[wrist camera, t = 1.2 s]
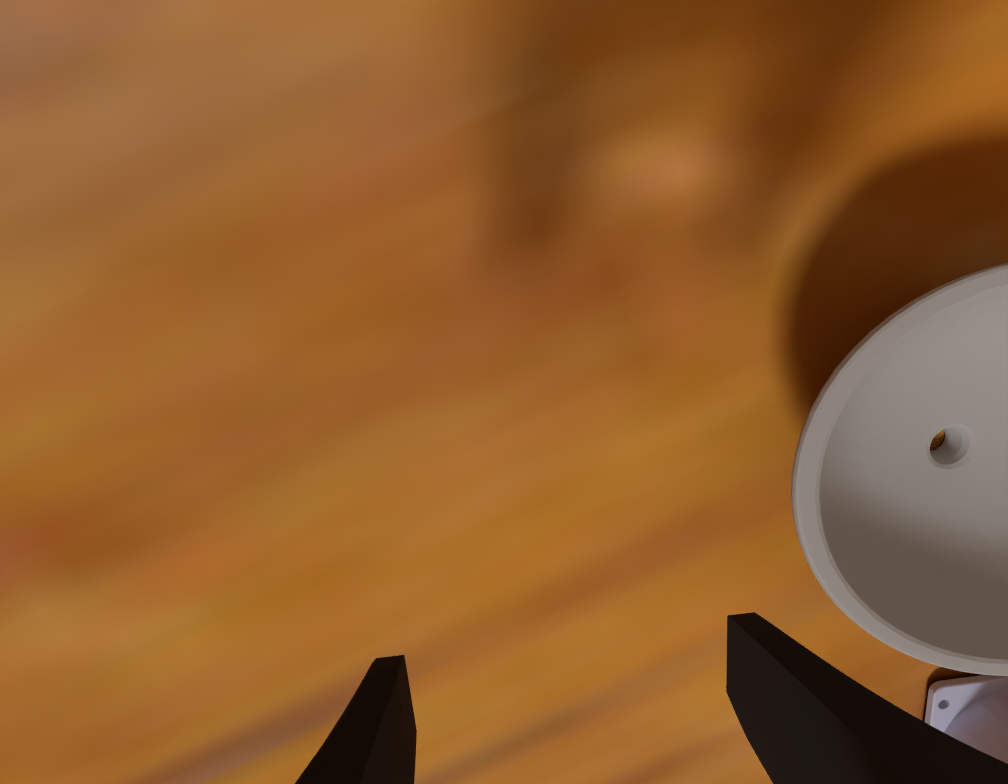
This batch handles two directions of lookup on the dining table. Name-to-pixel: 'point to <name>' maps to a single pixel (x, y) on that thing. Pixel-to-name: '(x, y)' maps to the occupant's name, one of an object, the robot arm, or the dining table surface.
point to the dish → (917, 478)
